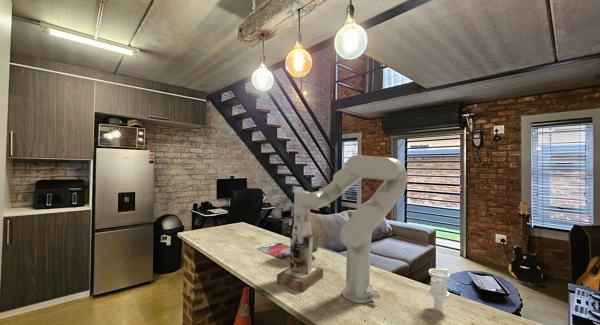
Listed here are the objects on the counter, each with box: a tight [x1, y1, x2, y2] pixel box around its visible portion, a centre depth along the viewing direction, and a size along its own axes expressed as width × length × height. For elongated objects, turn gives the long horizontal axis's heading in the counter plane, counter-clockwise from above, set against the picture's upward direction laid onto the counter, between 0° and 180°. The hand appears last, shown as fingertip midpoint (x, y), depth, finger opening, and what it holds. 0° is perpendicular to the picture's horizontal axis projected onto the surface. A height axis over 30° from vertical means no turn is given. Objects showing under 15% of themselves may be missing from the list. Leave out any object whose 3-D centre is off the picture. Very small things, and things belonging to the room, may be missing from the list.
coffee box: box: [289, 234, 313, 273], centre depth 120 cm, size 9×6×16 cm
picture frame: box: [276, 265, 324, 293], centre depth 120 cm, size 14×18×5 cm
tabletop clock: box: [289, 226, 319, 260], centre depth 148 cm, size 14×9×25 cm, turn 50°
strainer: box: [428, 268, 451, 312], centre depth 98 cm, size 7×7×15 cm
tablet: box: [256, 242, 291, 260], centre depth 161 cm, size 19×25×1 cm
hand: (301, 254), depth 120 cm, fingers open, 7 cm apart
